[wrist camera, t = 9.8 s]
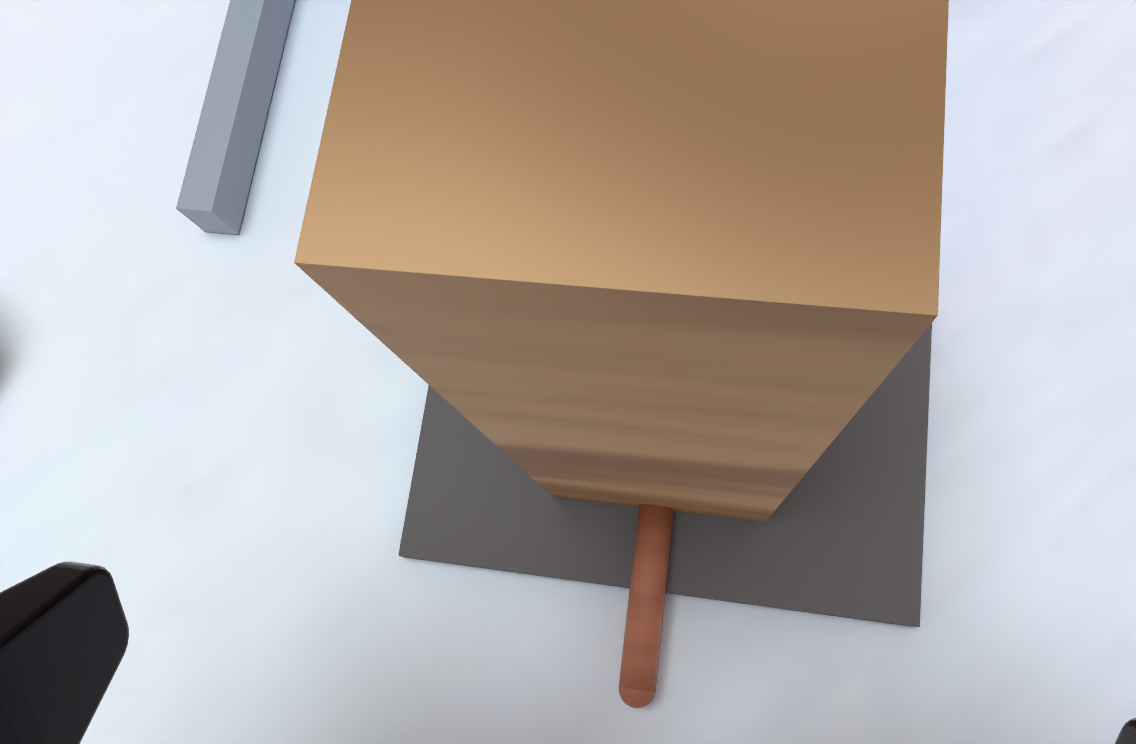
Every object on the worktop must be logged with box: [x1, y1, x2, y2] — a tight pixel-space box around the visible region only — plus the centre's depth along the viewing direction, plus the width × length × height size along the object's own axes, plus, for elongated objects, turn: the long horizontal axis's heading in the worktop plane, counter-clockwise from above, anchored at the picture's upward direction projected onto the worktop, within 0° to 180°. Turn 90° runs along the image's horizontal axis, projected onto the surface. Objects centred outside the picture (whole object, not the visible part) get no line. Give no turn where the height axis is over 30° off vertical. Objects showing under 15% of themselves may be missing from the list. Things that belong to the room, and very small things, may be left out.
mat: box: [399, 323, 932, 627], centre depth 22 cm, size 8×12×1 cm, turn 82°
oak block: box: [294, 0, 949, 708], centre depth 14 cm, size 9×5×15 cm, turn 172°
